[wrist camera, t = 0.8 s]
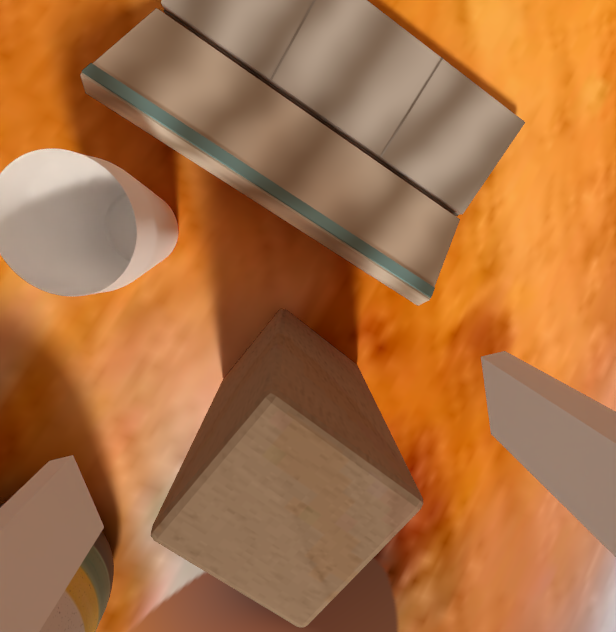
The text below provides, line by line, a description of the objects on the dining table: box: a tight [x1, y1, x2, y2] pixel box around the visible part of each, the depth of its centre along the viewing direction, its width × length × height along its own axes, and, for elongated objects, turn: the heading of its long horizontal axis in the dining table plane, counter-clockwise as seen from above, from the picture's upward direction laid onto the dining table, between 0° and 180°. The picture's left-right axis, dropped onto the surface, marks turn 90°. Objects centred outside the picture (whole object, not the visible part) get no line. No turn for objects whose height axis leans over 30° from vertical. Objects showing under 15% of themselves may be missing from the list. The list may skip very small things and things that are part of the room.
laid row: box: [161, 0, 525, 216], centre depth 31 cm, size 30×9×2 cm, turn 58°
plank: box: [80, 8, 460, 305], centre depth 30 cm, size 30×9×2 cm
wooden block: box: [151, 309, 423, 627], centre depth 28 cm, size 10×10×20 cm
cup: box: [0, 149, 178, 296], centre depth 28 cm, size 9×9×12 cm
